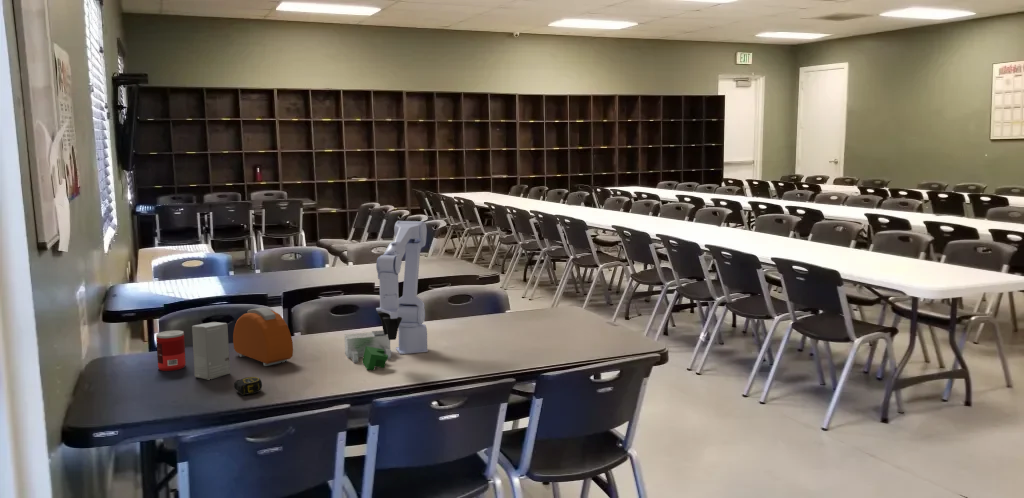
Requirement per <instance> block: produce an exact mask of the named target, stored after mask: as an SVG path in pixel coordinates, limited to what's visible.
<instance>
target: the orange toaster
mask: <svg viewBox="0 0 1024 498" xmlns="http://www.w3.org/2000/svg"><path fill="white" fill-rule="evenodd" d="M232 333H233V334H232V342H233V349H234V351H235V352H236V353H237V354H238V355H239V357H240V358H242V357H243V358H244V357H247V358H250V359H253V360H255V361H258V362H261V363H262V364H263V366H264V367H267V366H272V365H277V364H280V363H281V362H282V363H286V362H287V361H288V360H290V359H291V358H292V357H293V356H294V355H293V354H294V344H293V338H292V335H291V332H290V329H289V325H288V323H287V322H286V321H285V319H284V318H283V317H282V315H281V314H279V313H278V312H276V311H273V310H271V309H269V308H267V307H258V308H251V309H248V310H247V313H243V314H242V315H241V316H239V317H238V319H237V320H236V323H235V325H234V327H233V332H232ZM285 361H286V362H285ZM282 363H281V364H282Z"/></svg>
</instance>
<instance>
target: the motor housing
mask: <svg viewBox="0 0 1024 498" xmlns="http://www.w3.org/2000/svg"><path fill="white" fill-rule="evenodd" d="M366 346H367V347H374V348H380V349H383V350H384V354H387V355H388V359H387V361H389V360H392V350H391V340H389V339H388V334H384V332H383V329H382V330H371V331H370V332H359V333H357V332H356V333H347V334H344V354H345V356H346V358H347V359H351V360H352V363H353V364H355V363H359V358H363V356H364V352H365V348H366Z"/></svg>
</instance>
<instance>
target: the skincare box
mask: <svg viewBox="0 0 1024 498" xmlns="http://www.w3.org/2000/svg"><path fill="white" fill-rule="evenodd" d="M228 327H229V326H228V323H227V322H217V321H211V322H205V323H200V324H195V325H192V326H191V333H192V334H191V335H192V348H193V349H192V351H193V352H192V353H193V369H194V377H195V378H198V379H202V380H203V379H204V380H208V381H210V379H211V380H213V379H216V378H221V377H222V376H226V375H229V374H230V373H231V370H230V369H231V367H230V351H229V350H230V349H229V348H230V347H229V332H228Z"/></svg>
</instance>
